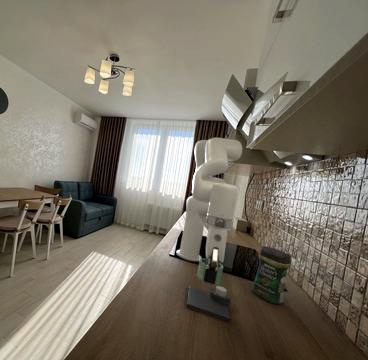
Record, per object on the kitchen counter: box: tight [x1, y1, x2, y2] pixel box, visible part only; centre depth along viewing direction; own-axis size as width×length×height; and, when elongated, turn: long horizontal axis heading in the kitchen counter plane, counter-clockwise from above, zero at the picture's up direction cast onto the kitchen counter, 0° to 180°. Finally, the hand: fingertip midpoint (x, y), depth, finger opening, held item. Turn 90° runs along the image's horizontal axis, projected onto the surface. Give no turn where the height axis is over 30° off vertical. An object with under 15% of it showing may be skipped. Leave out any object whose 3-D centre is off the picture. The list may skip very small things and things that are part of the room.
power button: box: [215, 285, 228, 297], centre depth 71 cm, size 3×3×2 cm
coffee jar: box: [251, 245, 292, 305], centre depth 80 cm, size 10×8×19 cm
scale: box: [186, 285, 232, 323], centre depth 69 cm, size 13×13×3 cm
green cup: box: [196, 257, 224, 286], centre depth 68 cm, size 7×7×6 cm
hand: (208, 277), depth 68 cm, fingers closed on green cup, 7 cm apart
